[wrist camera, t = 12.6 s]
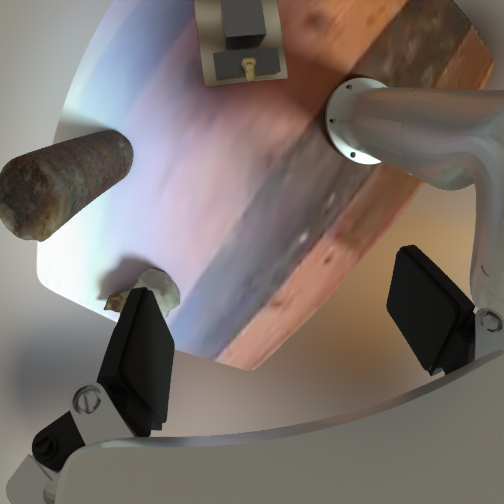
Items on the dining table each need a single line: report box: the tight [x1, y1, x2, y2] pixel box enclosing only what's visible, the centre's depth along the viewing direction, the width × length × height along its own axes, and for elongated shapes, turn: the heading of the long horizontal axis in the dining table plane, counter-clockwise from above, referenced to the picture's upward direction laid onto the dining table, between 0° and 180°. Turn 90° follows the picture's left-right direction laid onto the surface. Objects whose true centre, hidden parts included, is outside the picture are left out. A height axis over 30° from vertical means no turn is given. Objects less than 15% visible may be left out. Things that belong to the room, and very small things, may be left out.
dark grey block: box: [221, 0, 266, 49], centre depth 21 cm, size 10×4×6 cm, turn 7°
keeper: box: [213, 47, 281, 81], centre depth 25 cm, size 4×7×6 cm, turn 97°
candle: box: [0, 130, 133, 242], centre depth 23 cm, size 8×7×20 cm
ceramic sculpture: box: [104, 269, 180, 319], centre depth 40 cm, size 11×9×15 cm
